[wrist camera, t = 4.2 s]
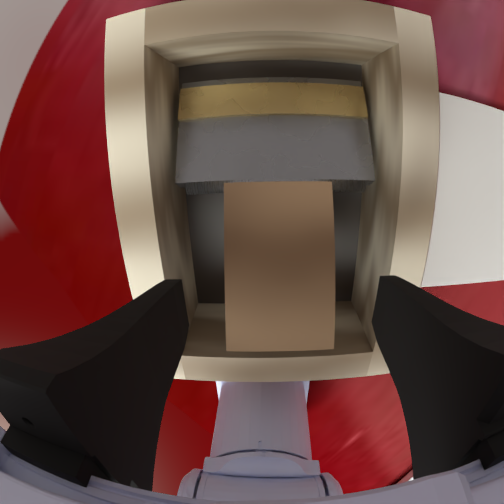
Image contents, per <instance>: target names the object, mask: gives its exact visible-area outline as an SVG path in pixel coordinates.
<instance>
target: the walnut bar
mask: <svg viewBox="0 0 504 504" xmlns="http://www.w3.org/2000/svg"><path fill="white" fill-rule="evenodd" d="M224 276H225V322H226V351H242V352H266V351H306V350H326V349H334V334H335V234H334V210H333V191H332V182H328V181H271V182H233V183H224Z"/></svg>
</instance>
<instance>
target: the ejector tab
mask: <svg viewBox="0 0 504 504" xmlns="http://www.w3.org/2000/svg"><path fill="white" fill-rule="evenodd" d="M367 119H368V112H367V106H366V101H365V95H364V90H363V87H361V82H360V81H351V80H339V79H325V78H302V77H259V78H236V79H221V80H210V81H200V82H191V83H183V84H182V89H181V90H180V100H179V111H178V121H179V125H178V139H177V155H176V176H175V184H177V185H178V186H179V187H180V188H185V191H186V194H187V195H192V194H213V193H224V183H233V182H271V181H328V182H332V191H333V192H365V189H366V185H370V184H372V183H373V182H374V181H375V173H374V164H373V155H372V147H371V140H370V133H369V126H368V120H367Z"/></svg>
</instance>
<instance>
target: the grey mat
mask: <svg viewBox="0 0 504 504" xmlns="http://www.w3.org/2000/svg"><path fill="white" fill-rule="evenodd" d="M499 280H504V111H502V110H499V109H496V108H493V107H490V106H487V105H484V104H481V103H477V102H474V101H471V100H467V99H464V98H460V97H456V96H452V95H448V94H444V93H440V92H439V159H438V174H437V186H436V197H435V206H434V214H433V221H432V228H431V235H430V241H429V247H428V252H427V258H426V263H425V268H424V273H423V277H422V282H421V286H420V287H430V286H444V285H456V284H468V283H479V282H489V281H499Z"/></svg>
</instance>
